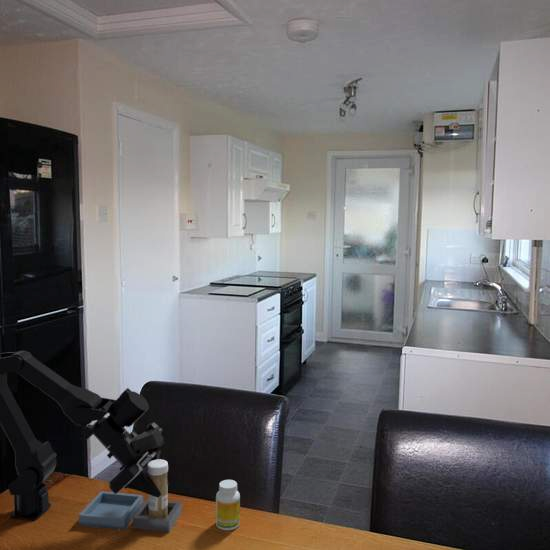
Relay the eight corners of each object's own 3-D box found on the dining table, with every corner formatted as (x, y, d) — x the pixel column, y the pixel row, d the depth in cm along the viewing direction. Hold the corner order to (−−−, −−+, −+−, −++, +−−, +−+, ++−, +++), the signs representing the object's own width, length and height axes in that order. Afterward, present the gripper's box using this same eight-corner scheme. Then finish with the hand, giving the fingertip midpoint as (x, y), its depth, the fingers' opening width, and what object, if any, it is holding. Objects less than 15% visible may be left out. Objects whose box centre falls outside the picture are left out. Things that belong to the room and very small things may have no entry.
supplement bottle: (213, 520, 122) (213, 479, 121) (236, 516, 124) (236, 476, 123) (219, 533, 117) (219, 491, 116) (242, 528, 118) (243, 487, 118)
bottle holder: (132, 528, 118) (132, 517, 118) (147, 508, 126) (147, 498, 126) (169, 532, 117) (169, 521, 116) (181, 511, 125) (181, 501, 125)
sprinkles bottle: (171, 521, 121) (171, 464, 119) (151, 527, 118) (151, 469, 117) (163, 512, 125) (163, 456, 123) (144, 518, 122) (144, 461, 121)
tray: (79, 525, 119) (78, 514, 118) (101, 501, 129) (101, 491, 129) (124, 530, 117) (124, 519, 117) (143, 505, 127) (143, 495, 127)
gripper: (122, 433, 110) (173, 489, 110) (156, 403, 129) (200, 451, 128) (87, 466, 112) (137, 521, 112) (125, 432, 131) (168, 479, 130)
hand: (163, 490), depth 120 cm, fingers closed on sprinkles bottle, 4 cm apart
